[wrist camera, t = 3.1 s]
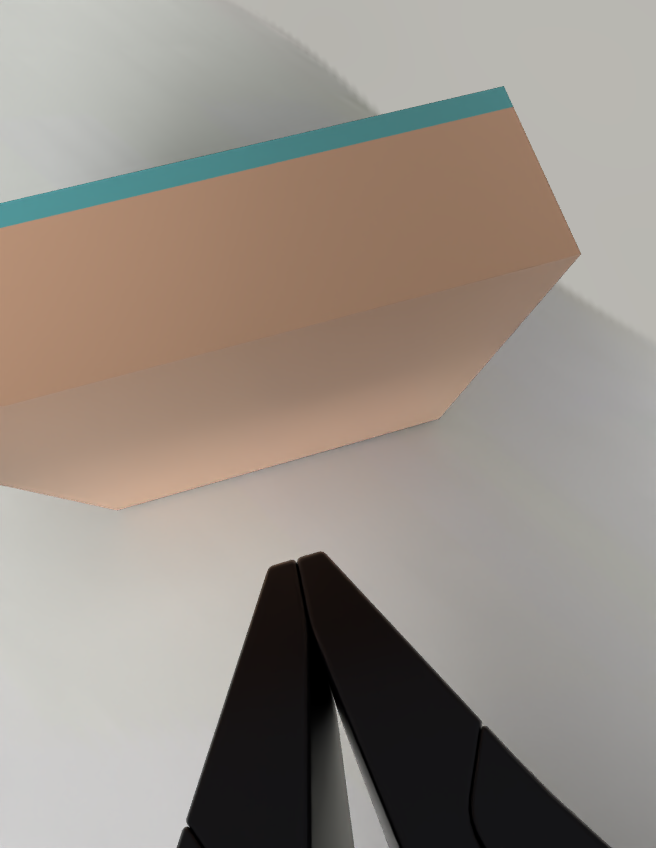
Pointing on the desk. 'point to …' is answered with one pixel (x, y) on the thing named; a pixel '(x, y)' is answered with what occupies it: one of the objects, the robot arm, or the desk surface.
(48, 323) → the tile
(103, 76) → the desk surface
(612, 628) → the desk surface
